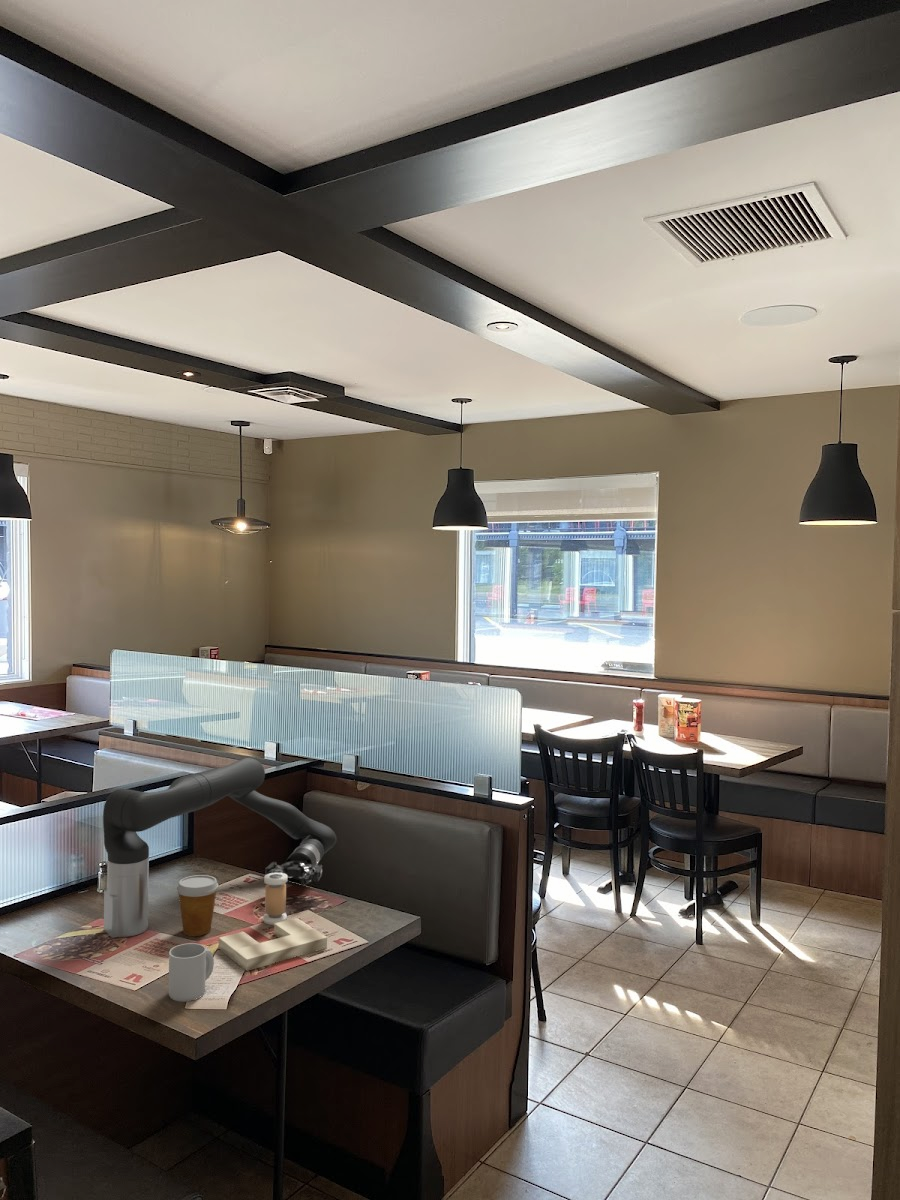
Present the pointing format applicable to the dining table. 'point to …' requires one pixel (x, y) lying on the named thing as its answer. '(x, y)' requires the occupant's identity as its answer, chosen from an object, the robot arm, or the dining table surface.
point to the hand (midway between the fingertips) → (286, 881)
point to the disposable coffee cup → (197, 903)
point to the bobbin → (275, 898)
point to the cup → (189, 971)
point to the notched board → (273, 944)
